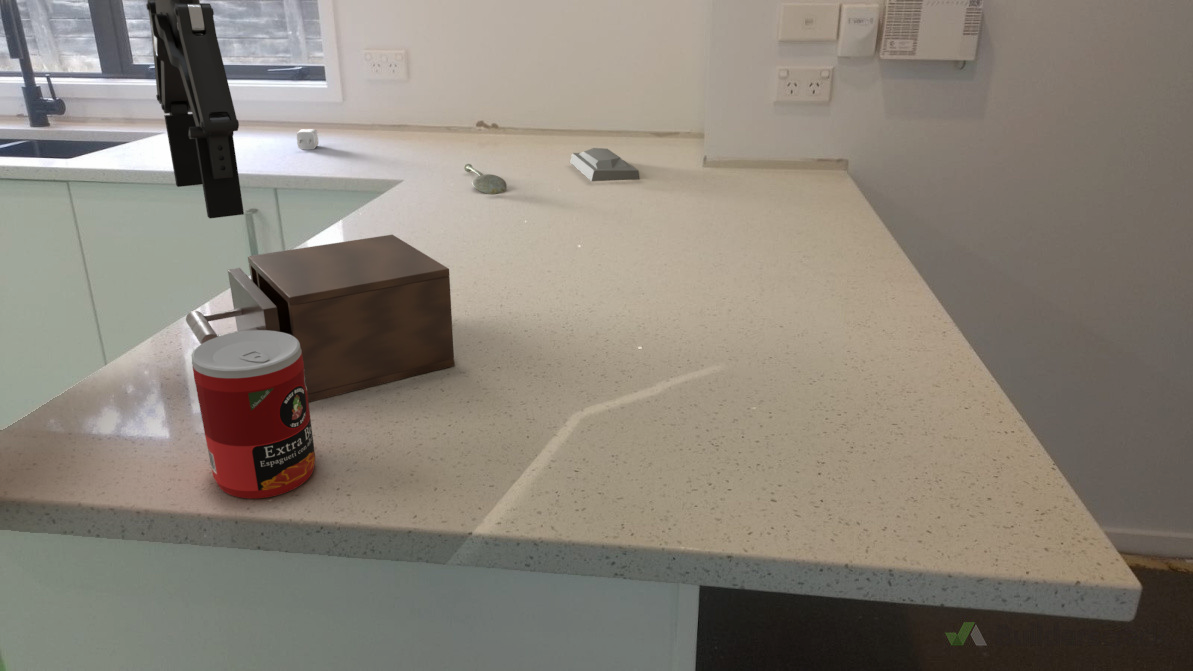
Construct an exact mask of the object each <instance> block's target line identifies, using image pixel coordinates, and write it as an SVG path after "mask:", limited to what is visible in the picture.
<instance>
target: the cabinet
mask: <svg viewBox="0 0 1193 671" xmlns="http://www.w3.org/2000/svg"><path fill="white" fill-rule="evenodd" d="M247 262H248V267H249V275H250V279H251V280H252V281H253V282H254V283H255V284H256V285H257V287H258V283H257V276H256V271H257V272H258V273H259V274H260V275H261V276H262V277H263V278H264V279H265V280H266V281H267V282H268V283H269V284H270V285H271V286H272V287H273V288H274V289H275V290H276V291H277V292H278V293H279V294H280V295H281V296H282V297H283V298H284V299H285V300H286V301H287V302H288V303H289V304H288V307H289V314H290V322H291V329H292V336H293V337H295V338H296V339H297V340H298V341H299V343H300V348H301V350H302V357H303V363H304V370H305V378H306V386H307V394H308V403H310V402H313V401H319V400H322V399H326V398H330V397H334V396H338V395H339V396H340V395H343V394H346V393H350V392H354V391H359V390H362V389H367V388H370V387H375V386H379V385H383V384H387V383H391V382H395V381H399V380H402V379H407V378H411V377H415V376H419V375H423V374H428V373H430V372H436V371H438V370H439V371H440V370H442V369H447V368H451V367H454V366H455V353H454V352H455V351H454V335H453V316H452V315H453V314H452V299H451V298H452V297H451V278H450V275H451V274H450V268H449V267H447V266H446V265H444V264H442V263H441V262H439V261H437V260H436V259H434V258H432V257H431V256H429V255H427V254H425V252H423V251H421V250H419V249H417V248H416V247H414V246H413V245H411V244H409V243H407V242H405V241H404V240H402V239H400V238H399V237H397V236H396V235H394V234H387V235H380V236H373V237H367V238H366V237H365V238H360V239H354V240H347V241H340V242H333V243H326V244H320V245H314V246H306V247H298V248H293V249H287V250H281V251H280V250H279V251H273V252H268V253H267V252H266V253H260V254H254V255H248V256H247Z"/></svg>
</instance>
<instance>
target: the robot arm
mask: <svg viewBox="0 0 1193 671" xmlns="http://www.w3.org/2000/svg"><path fill="white" fill-rule="evenodd" d="M146 2H147V3H146V4H145V6H146V10H147V11H148V16H149V24H150V33H151V42H152V54H153V64H154V65H153V66H154V74H155V86H156V95H155V98H156V100H157V102H158V103H159V105H160V108H161V110H162V111H163V113H164V115H163V116H164V122H165V128H166V134H167V140H168V147H169V151H170V157H171V162H172V168H173V174H174V181H175V184H176V185H175V186H176V187H177V188H180V187H191V186H201V185H202V190H203V196H204V203H205V209H206V215H207V216H206V217H207V218H208V219H218V218H219V219H220V218H227V217H233V216H235V217H236V216H243V215H245V212H244V206H243V199H242V198H243V197H242V191H241V184H240V177H239V169H238V163H237V154H236V148H235V142H234V132H238V131H239V127H240V122H239V120H238V118H237V113H236V110H235V106H234V102H233V98H232V94H231V90H230V85H229V82H228V81H229V80H228V77H227V73H226V68H225V64H224V61H223V58H222V57H223V56H222V52H221V47H220V45H219V44H220V43H219V41H218V40H219V39H218V35H217V30H216V25H215V19H214V15H215V11H214V8H212V5H211V3H206V2H204V3H202V2H200V0H146Z"/></svg>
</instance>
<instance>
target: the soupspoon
mask: <svg viewBox="0 0 1193 671" xmlns="http://www.w3.org/2000/svg"><path fill="white" fill-rule="evenodd" d="M463 169H464V171H465V172H467V173H470V172H473V173H475V174H476V175H477V176H476V177H474V178H473V179H472V180H471V185H472V186H473V187H474V189H475V190H477V191H479V192H480V193H484V194H490V195H497V194H501V193H504V192H505V191H506V190H507V187H508V183H507V182H506V180H505V179H504V178H503V177H501V176H498V175H495V174H491V173H489V174H487V173H486V174H484V173H482V172H481V171H479V170H478V169H476V168H474V167H473V165H472V164H471V163H466V164H464V166H463Z"/></svg>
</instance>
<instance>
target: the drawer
mask: <svg viewBox="0 0 1193 671" xmlns="http://www.w3.org/2000/svg"><path fill="white" fill-rule="evenodd" d="M227 274H228V275H227V276H228V280H229V281H228V282H229V286H230V287H229V288H230V293H231V300H232V305H233V306H232V307H233V309H227V310H223V311H218V312H217V311H216V312H211V313H206V314H203V313H202V312H201V311H199V310H192V311H189V312H188V313H187V315H186V317H185V322H186V324H187V325H188V327H189V328H190V331H192V333H193V335H194V336H195V337H196V339H197V341H198V343H199V345H201V344H202V343H204V342H206V341H208V340H211V339H213V338H216V337H219V336H222V335H226V334H230V333H235V332H242V331H252V330H268V331H277V332H283V333H286V334H289V335H291V336H292V329H291V322H290V314H289V307H288V304H289V303H288V302H287V301H286V300H285V299H284V298H283V297H282V296H281V295H280V294H279V293H278V292H277V291H276V290H275V289H274V288H273V287H272V286H271V285H270V284H269V283H268V282H267V281H266V280H265V279H264V278H263V277H262V276H261V275H260V274H259V273H258V272H257V271H256V276H257V283H258V287H257V285H256V284H255V283H254V282H253V281H252V280H251V277H249V276H248V275H247V274H246V273H245V271H244V270H243V269H242V268H241V267H236V268H230V269H227ZM229 318H235V325H236V331H230V332H226V333H220V334H217V332H216V331H215V329H214V328H213V327H212V325H211V323H209V322H213V321H218V320H224V319H229Z"/></svg>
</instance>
